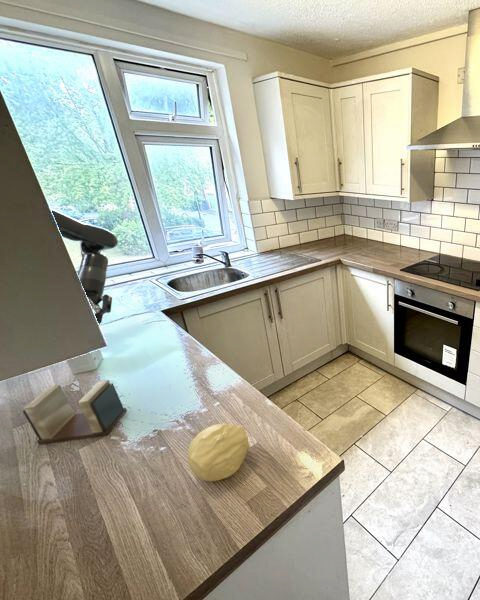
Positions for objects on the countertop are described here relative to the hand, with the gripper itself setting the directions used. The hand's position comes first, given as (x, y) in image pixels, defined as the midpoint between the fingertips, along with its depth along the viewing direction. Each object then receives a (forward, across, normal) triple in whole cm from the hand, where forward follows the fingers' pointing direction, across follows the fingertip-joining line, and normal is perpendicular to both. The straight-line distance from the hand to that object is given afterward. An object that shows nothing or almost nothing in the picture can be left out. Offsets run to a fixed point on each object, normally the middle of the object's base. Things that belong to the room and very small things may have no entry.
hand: (81, 325), depth 109 cm
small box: (+12, 0, +7) cm, 14 cm away
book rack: (+34, +17, -15) cm, 41 cm away
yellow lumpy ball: (+48, +56, -30) cm, 80 cm away
